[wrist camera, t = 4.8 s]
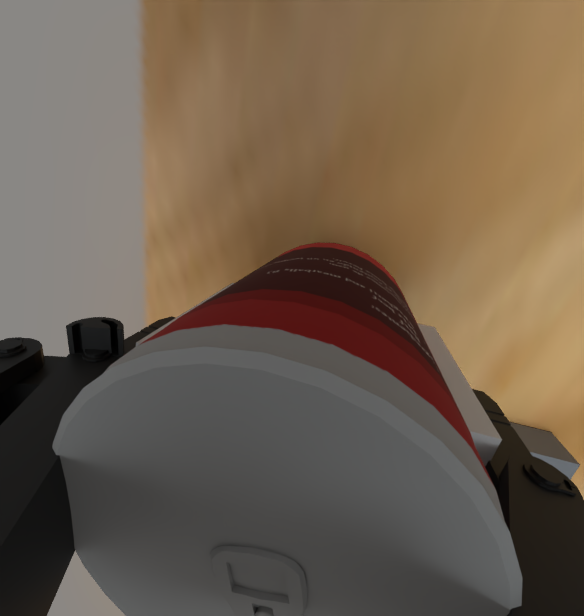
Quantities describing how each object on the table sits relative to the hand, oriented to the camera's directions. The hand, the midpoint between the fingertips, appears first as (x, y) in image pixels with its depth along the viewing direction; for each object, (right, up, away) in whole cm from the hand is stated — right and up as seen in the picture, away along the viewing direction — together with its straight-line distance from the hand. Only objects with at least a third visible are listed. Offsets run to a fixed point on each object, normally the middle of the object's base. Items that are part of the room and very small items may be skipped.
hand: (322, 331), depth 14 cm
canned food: (0, 0, +1) cm, 1 cm away
